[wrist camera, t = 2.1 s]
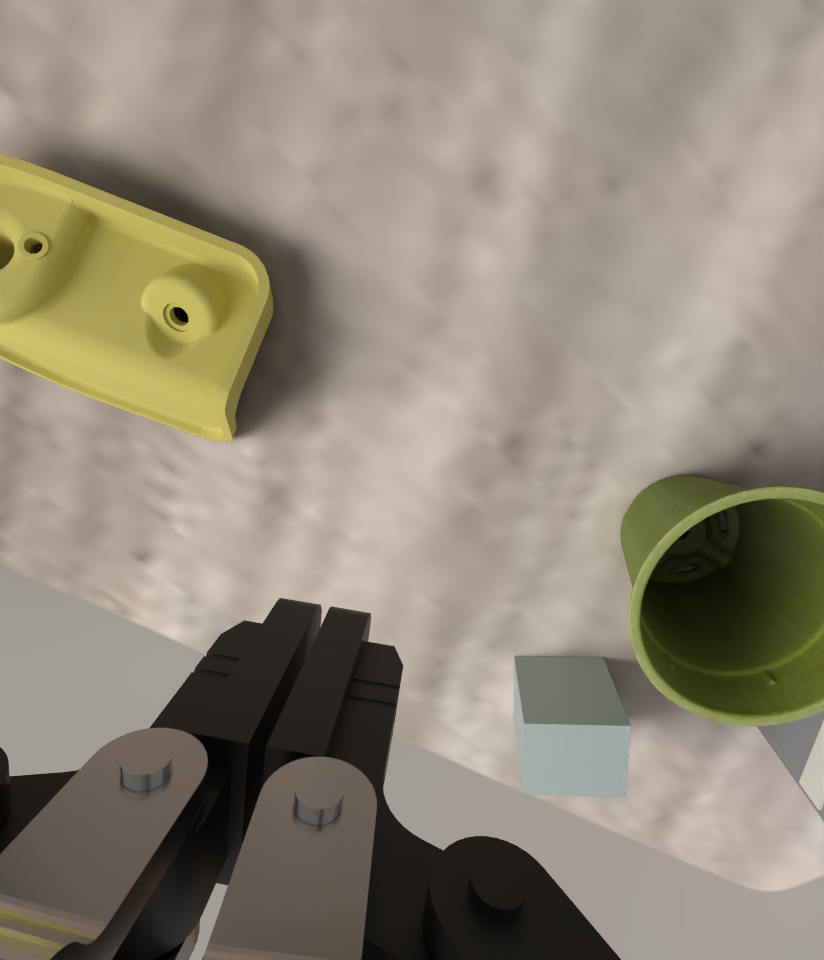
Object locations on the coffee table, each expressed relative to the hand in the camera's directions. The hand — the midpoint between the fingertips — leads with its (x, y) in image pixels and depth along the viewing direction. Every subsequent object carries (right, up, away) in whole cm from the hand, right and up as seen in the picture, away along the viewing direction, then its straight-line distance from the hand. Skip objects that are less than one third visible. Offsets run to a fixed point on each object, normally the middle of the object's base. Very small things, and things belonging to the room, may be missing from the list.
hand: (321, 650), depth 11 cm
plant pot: (+18, 0, +27) cm, 33 cm away
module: (+12, -11, +31) cm, 35 cm away
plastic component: (-16, +14, +26) cm, 34 cm away
